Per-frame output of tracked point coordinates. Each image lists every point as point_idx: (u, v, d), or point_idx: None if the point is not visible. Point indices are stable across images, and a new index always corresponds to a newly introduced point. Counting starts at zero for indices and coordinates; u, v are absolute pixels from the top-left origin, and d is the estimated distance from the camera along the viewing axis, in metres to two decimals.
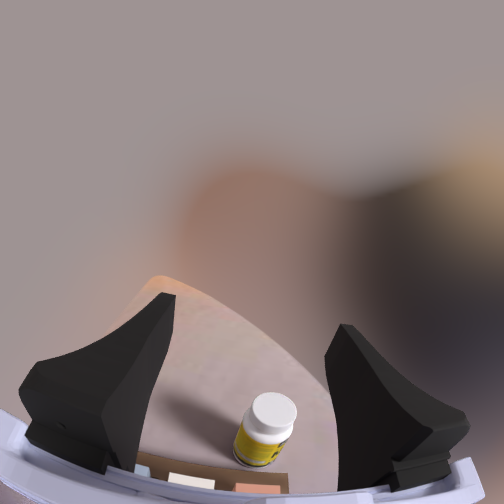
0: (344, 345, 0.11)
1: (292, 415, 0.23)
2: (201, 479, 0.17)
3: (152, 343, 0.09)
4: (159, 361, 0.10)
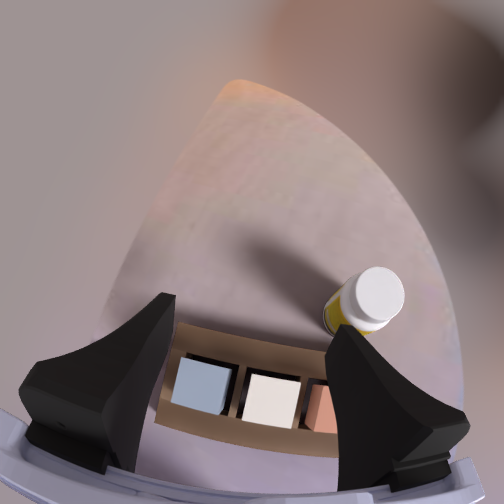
0: (344, 345, 0.11)
1: (399, 304, 0.19)
2: (286, 380, 0.19)
3: (152, 343, 0.09)
4: (159, 361, 0.10)
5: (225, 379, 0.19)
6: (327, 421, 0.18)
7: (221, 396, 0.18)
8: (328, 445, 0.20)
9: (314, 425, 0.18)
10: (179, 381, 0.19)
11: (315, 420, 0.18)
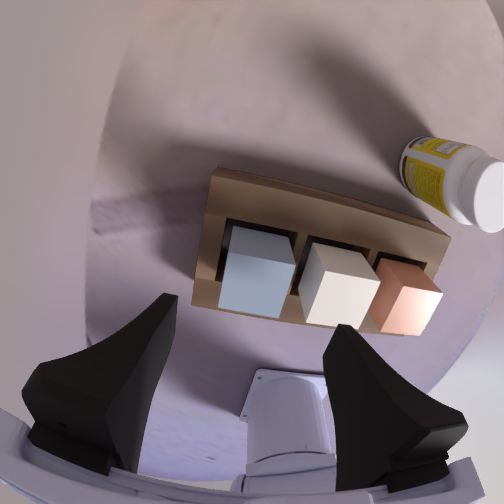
0: (342, 345, 0.11)
1: None
2: (364, 276, 0.16)
3: (155, 344, 0.09)
4: (161, 362, 0.11)
5: (290, 278, 0.15)
6: (396, 322, 0.17)
7: (283, 298, 0.16)
8: None
9: (381, 324, 0.17)
10: (227, 283, 0.15)
11: (384, 319, 0.17)
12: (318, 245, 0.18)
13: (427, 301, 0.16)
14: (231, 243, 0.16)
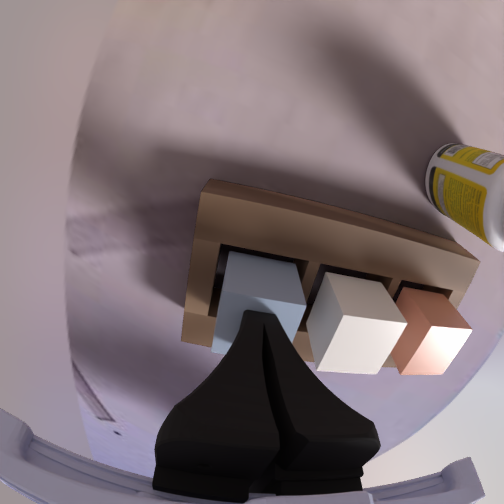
0: None
1: None
2: (389, 318, 0.12)
3: None
4: None
5: (299, 320, 0.12)
6: (419, 364, 0.13)
7: None
8: None
9: (403, 366, 0.14)
10: (222, 326, 0.12)
11: (406, 361, 0.13)
12: (332, 276, 0.15)
13: (455, 339, 0.13)
14: (226, 277, 0.13)
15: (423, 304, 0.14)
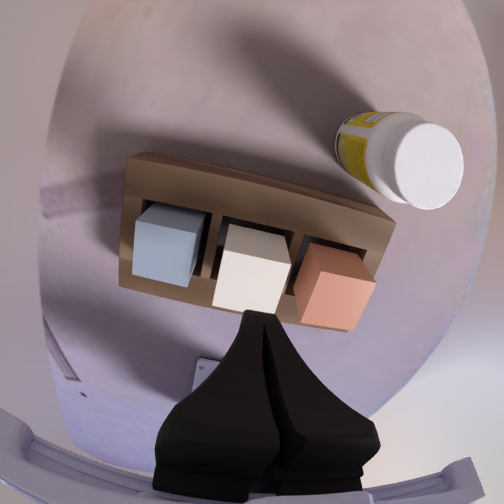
0: None
1: (451, 190, 0.11)
2: (272, 258, 0.15)
3: None
4: None
5: (192, 246, 0.16)
6: (318, 313, 0.16)
7: (189, 266, 0.16)
8: None
9: (302, 314, 0.17)
10: (137, 250, 0.16)
11: (304, 309, 0.16)
12: (233, 227, 0.18)
13: (356, 291, 0.16)
14: (143, 214, 0.16)
15: (323, 256, 0.17)
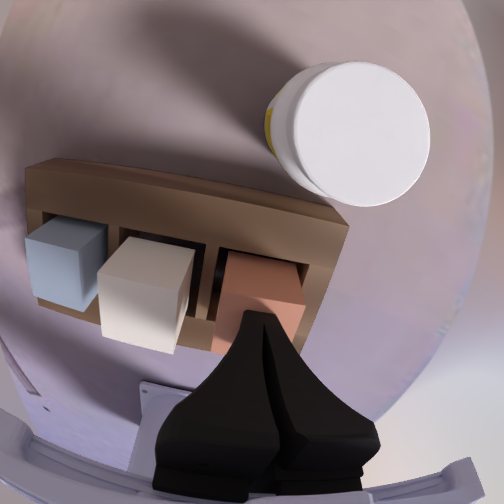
0: None
1: (410, 173, 0.07)
2: (155, 282, 0.11)
3: None
4: None
5: (77, 266, 0.12)
6: (231, 342, 0.13)
7: (79, 289, 0.12)
8: None
9: (212, 342, 0.13)
10: (32, 270, 0.12)
11: (213, 336, 0.13)
12: (131, 240, 0.14)
13: (278, 316, 0.12)
14: (37, 229, 0.12)
15: (239, 269, 0.13)
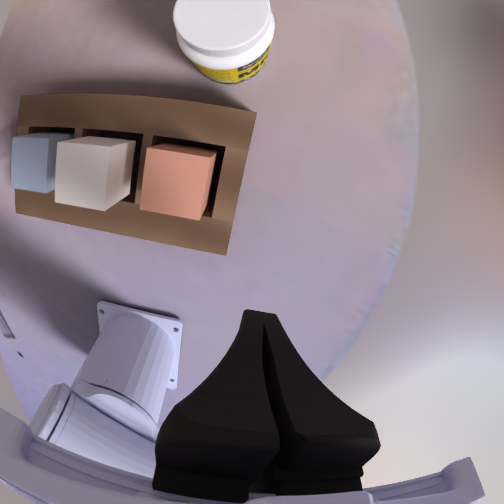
0: None
1: (255, 26, 0.09)
2: (96, 144, 0.13)
3: None
4: None
5: (46, 151, 0.14)
6: (155, 197, 0.15)
7: (45, 171, 0.14)
8: (185, 231, 0.18)
9: None
10: (13, 163, 0.14)
11: None
12: (89, 136, 0.16)
13: (189, 168, 0.15)
14: (23, 135, 0.14)
15: (167, 146, 0.16)
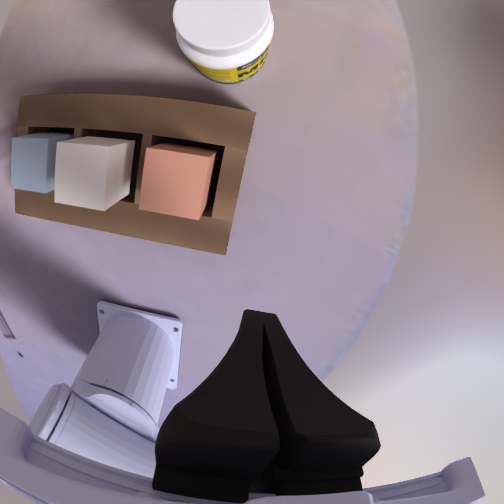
0: None
1: (254, 26, 0.09)
2: (95, 144, 0.13)
3: None
4: None
5: (46, 151, 0.14)
6: (154, 196, 0.15)
7: (45, 171, 0.14)
8: (184, 231, 0.18)
9: None
10: (13, 164, 0.14)
11: None
12: (89, 137, 0.16)
13: (188, 168, 0.15)
14: None
15: (166, 145, 0.16)
